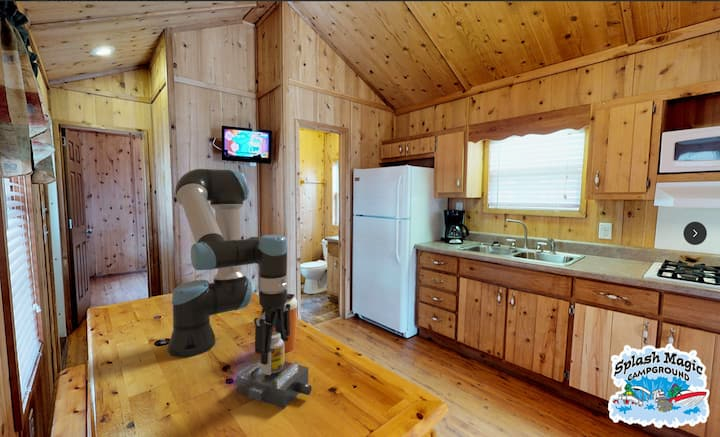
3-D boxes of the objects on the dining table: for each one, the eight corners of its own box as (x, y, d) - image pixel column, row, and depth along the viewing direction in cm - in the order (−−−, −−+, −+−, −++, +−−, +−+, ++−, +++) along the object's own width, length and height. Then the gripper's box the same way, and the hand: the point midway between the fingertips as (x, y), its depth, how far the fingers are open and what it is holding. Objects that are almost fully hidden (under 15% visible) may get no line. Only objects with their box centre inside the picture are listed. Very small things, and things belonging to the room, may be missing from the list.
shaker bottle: (291, 355, 110) (291, 299, 108) (267, 352, 112) (267, 297, 110) (301, 343, 119) (301, 291, 117) (279, 340, 121) (278, 289, 119)
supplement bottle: (262, 375, 88) (262, 340, 87) (264, 364, 94) (264, 331, 93) (283, 373, 89) (283, 338, 88) (283, 362, 95) (283, 329, 94)
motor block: (231, 397, 88) (231, 375, 87) (264, 370, 100) (264, 351, 100) (292, 418, 80) (292, 393, 80) (320, 386, 93) (320, 365, 92)
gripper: (262, 302, 79) (262, 389, 81) (302, 282, 96) (302, 355, 99) (239, 298, 82) (240, 382, 84) (281, 279, 99) (282, 350, 101)
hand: (273, 367), depth 91 cm, fingers closed on supplement bottle, 6 cm apart
